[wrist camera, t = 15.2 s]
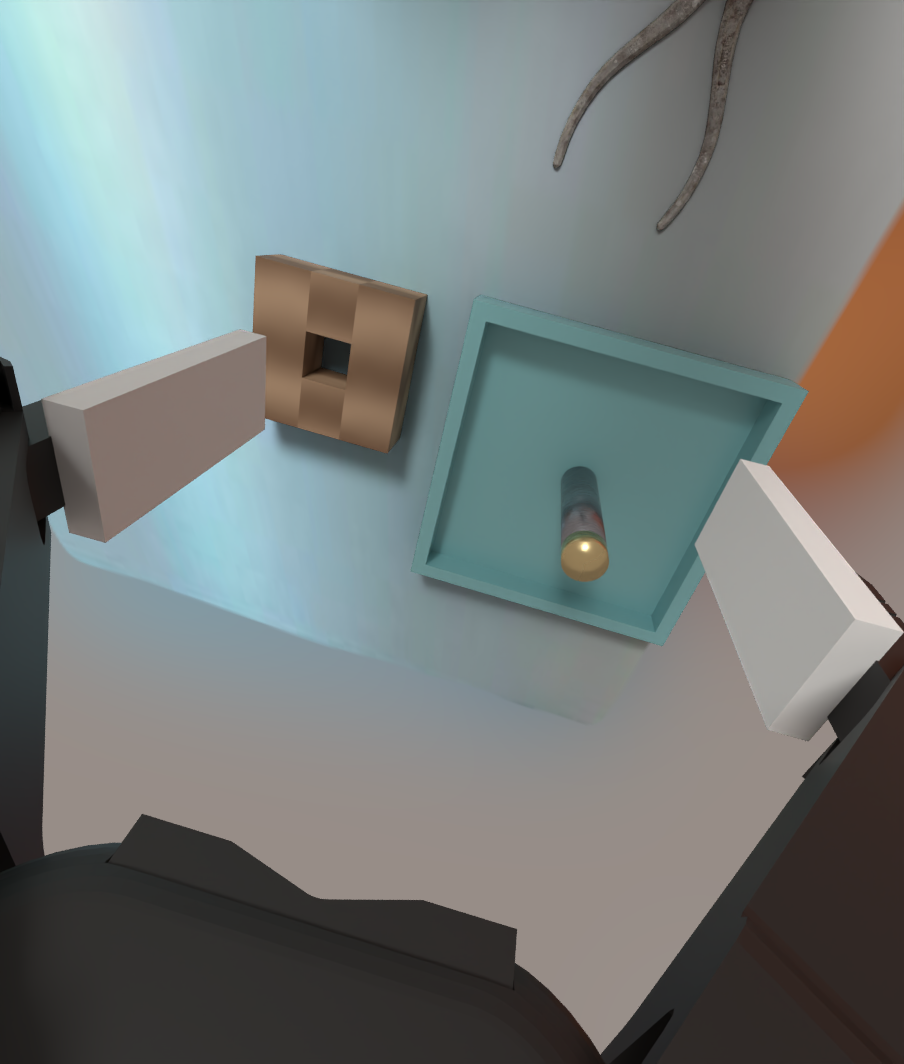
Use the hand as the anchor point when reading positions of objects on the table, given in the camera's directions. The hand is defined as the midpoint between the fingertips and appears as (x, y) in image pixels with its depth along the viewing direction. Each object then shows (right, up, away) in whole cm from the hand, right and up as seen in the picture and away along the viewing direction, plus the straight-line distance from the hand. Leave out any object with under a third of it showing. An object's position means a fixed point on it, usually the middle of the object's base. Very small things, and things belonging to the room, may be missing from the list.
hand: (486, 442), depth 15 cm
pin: (+10, +2, +31) cm, 32 cm away
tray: (+10, +2, +32) cm, 33 cm away
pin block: (-10, +13, +30) cm, 34 cm away
